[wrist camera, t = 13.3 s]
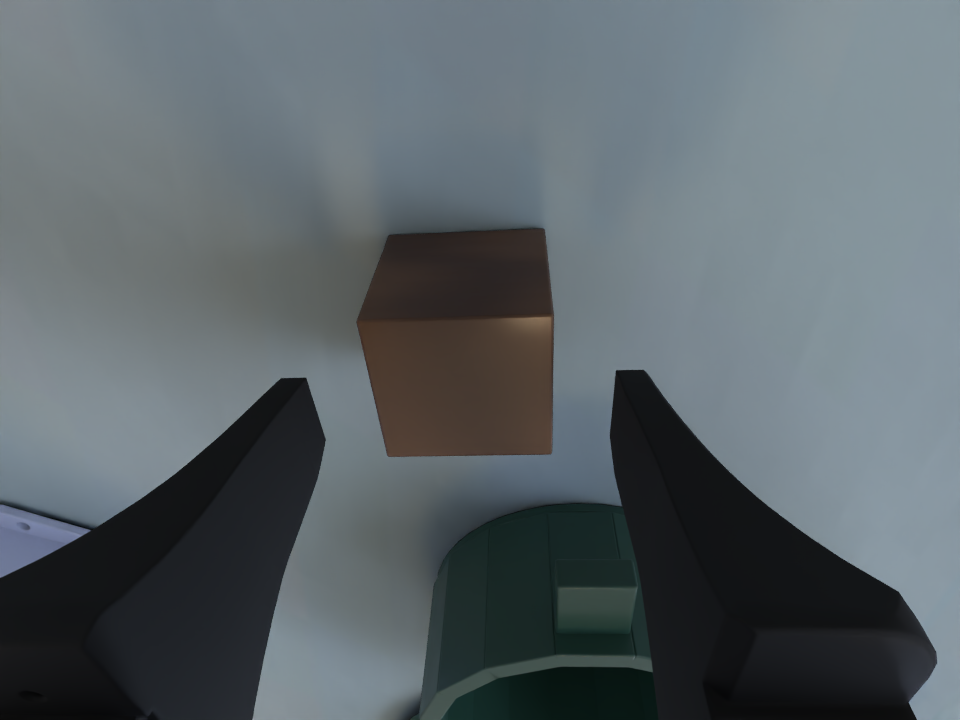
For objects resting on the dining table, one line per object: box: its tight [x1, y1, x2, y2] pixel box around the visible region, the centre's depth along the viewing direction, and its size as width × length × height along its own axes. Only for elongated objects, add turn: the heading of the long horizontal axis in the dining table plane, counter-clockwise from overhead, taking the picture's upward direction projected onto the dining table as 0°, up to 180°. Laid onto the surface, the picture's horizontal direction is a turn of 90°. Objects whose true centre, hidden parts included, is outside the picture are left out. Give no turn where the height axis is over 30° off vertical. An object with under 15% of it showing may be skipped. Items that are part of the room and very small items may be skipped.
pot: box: [419, 504, 659, 720], centre depth 25 cm, size 13×18×6 cm
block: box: [357, 229, 554, 457], centre depth 16 cm, size 4×4×4 cm
